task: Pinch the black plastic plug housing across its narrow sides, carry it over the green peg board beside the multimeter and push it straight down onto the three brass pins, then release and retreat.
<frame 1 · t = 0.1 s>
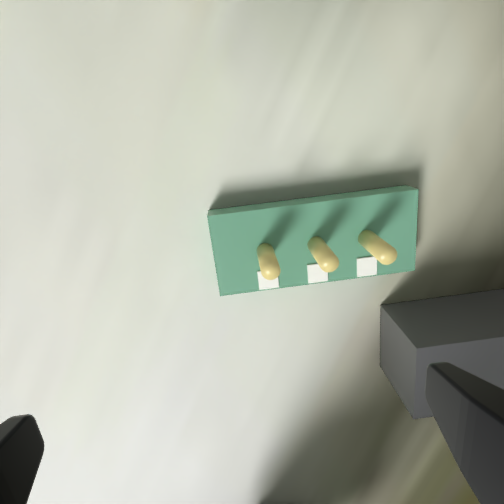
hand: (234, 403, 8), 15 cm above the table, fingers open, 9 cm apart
green peg board: (310, 236, 22), on the table
plug housing: (456, 326, 25), on the table
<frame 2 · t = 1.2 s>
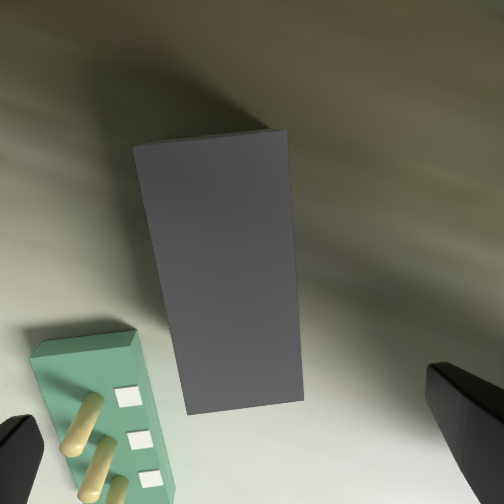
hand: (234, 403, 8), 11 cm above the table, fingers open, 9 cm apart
green peg board: (115, 421, 21), on the table
plug housing: (229, 248, 18), on the table
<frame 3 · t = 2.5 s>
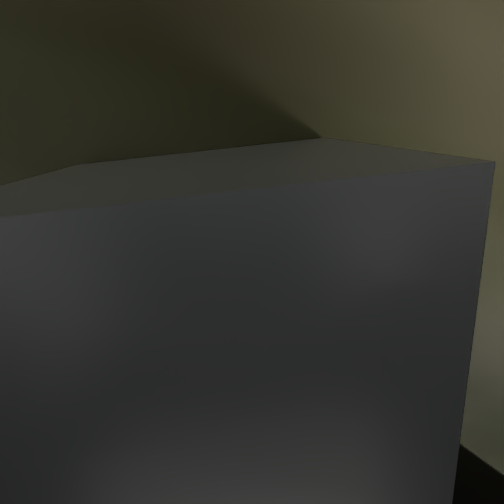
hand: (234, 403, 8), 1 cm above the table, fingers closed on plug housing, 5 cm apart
plug housing: (233, 373, 9), on the table, touching gripper
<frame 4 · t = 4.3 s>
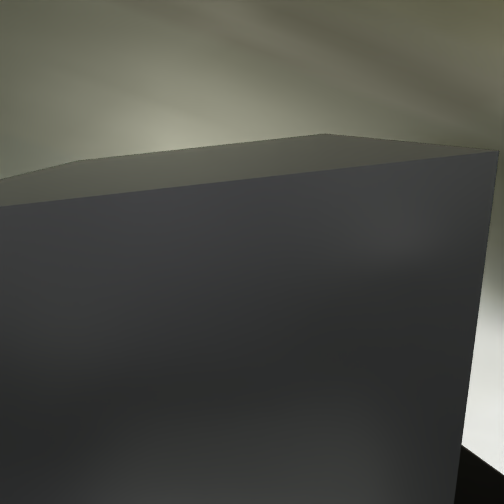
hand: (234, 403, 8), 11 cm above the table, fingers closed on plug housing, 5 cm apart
plug housing: (234, 371, 9), point 10 cm above the table, touching gripper
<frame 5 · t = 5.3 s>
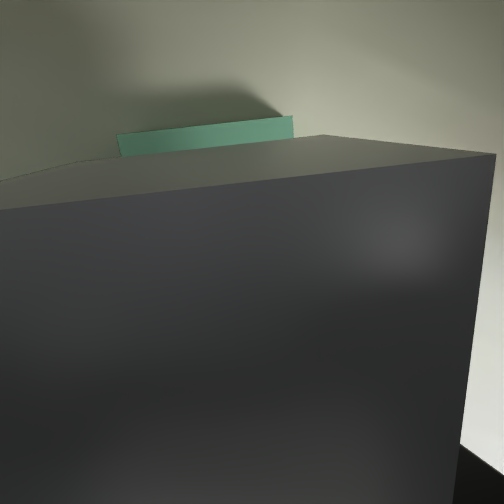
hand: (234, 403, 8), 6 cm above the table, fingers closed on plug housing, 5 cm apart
green peg board: (230, 291, 14), on the table
plug housing: (233, 372, 9), point 5 cm above the table, touching gripper
when the fingers open (3 cm above the table, at t = 6.1 s): plug housing stays where it is, resting on green peg board.
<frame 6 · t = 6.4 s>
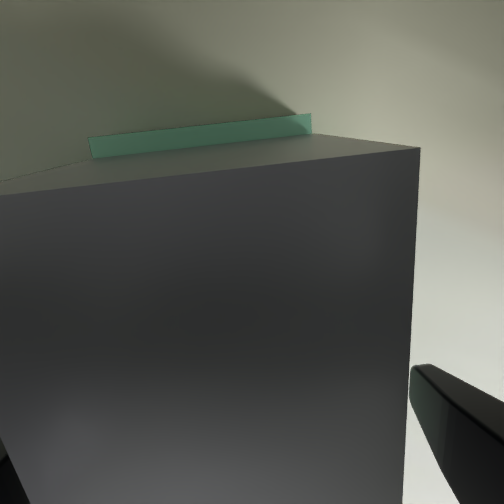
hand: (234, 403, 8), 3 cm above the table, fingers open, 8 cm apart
green peg board: (231, 323, 11), on the table
plug housing: (234, 350, 10), point 2 cm above the table, touching green peg board
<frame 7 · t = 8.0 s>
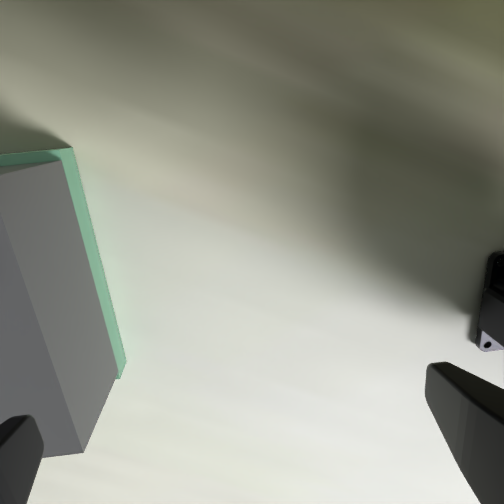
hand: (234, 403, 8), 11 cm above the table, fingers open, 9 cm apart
green peg board: (53, 271, 19), on the table
plug housing: (40, 283, 17), point 2 cm above the table, touching green peg board
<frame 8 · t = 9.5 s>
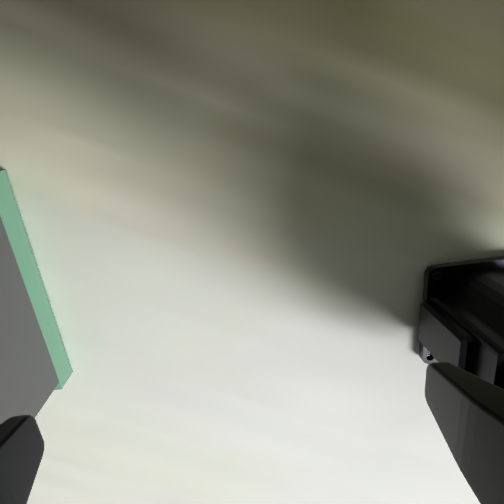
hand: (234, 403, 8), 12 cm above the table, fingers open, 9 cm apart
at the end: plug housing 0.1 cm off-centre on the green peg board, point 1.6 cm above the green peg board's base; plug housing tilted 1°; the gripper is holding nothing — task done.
